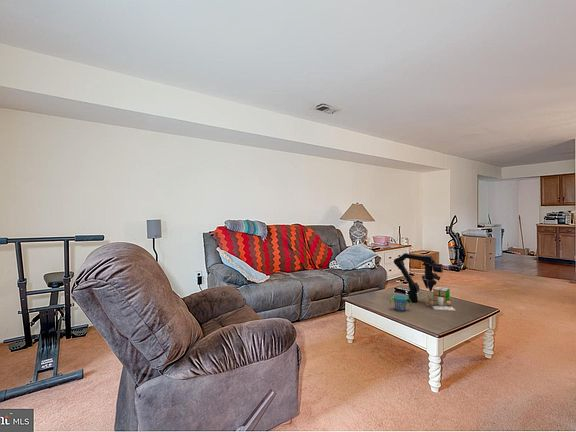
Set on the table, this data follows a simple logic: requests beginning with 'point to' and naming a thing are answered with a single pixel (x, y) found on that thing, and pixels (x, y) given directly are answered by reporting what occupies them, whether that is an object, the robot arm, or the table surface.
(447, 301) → the rubber ball
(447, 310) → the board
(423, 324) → the table surface
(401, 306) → the snack cup
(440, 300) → the ceramic cylinder
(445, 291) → the puzzle cube
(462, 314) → the table surface
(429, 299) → the maple block
